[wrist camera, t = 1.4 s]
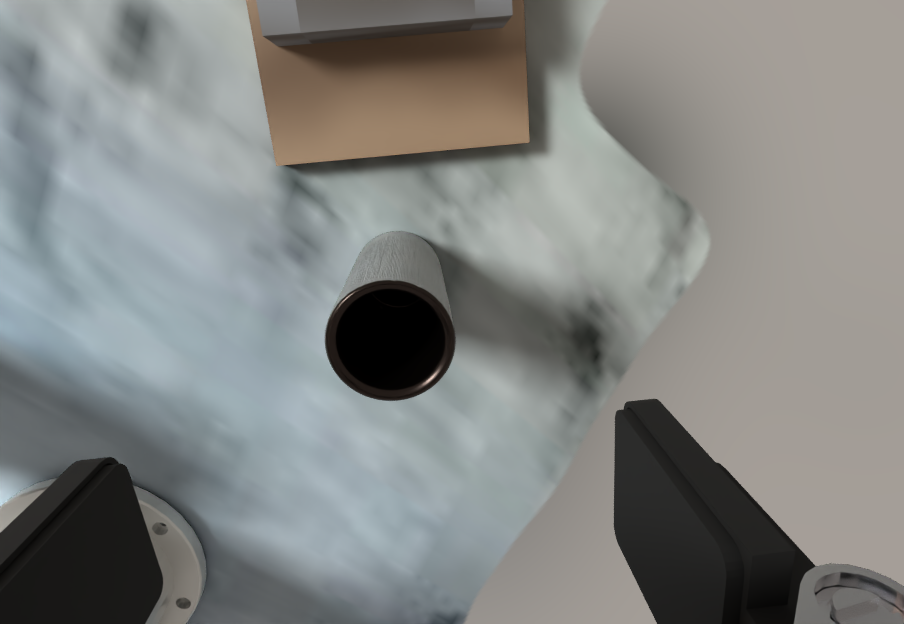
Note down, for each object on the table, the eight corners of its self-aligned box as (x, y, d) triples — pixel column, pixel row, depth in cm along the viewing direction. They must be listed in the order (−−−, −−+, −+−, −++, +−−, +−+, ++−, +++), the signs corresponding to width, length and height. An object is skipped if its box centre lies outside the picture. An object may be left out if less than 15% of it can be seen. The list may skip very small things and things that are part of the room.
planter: (458, 266, 28) (482, 332, 18) (406, 329, 29) (403, 424, 19) (390, 212, 27) (376, 252, 17) (337, 280, 28) (297, 354, 18)
